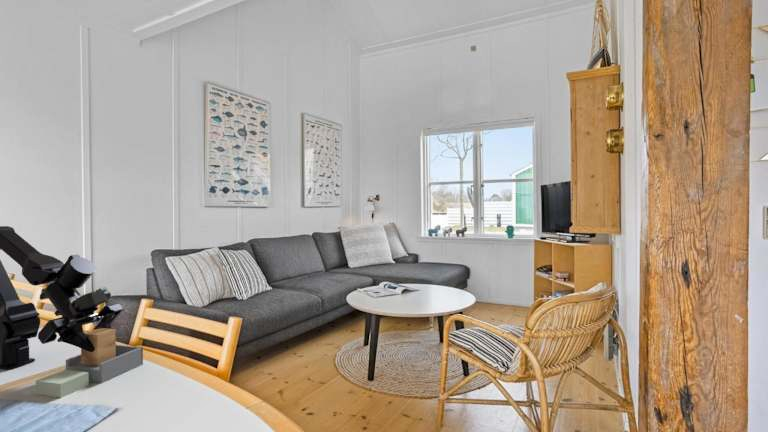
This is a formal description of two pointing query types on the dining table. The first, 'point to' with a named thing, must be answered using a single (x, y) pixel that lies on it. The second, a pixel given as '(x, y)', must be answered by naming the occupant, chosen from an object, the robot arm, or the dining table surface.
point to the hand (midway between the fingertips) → (103, 347)
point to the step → (62, 383)
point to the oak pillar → (100, 346)
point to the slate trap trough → (109, 364)
